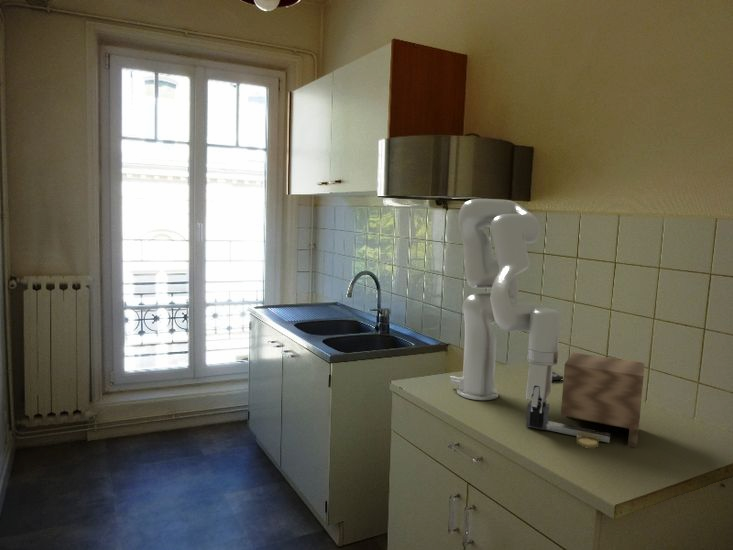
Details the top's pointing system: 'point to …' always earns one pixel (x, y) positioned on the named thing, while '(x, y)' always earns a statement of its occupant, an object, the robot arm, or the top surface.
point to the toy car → (556, 376)
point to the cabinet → (604, 392)
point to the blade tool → (564, 425)
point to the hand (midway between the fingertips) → (537, 423)
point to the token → (587, 440)
